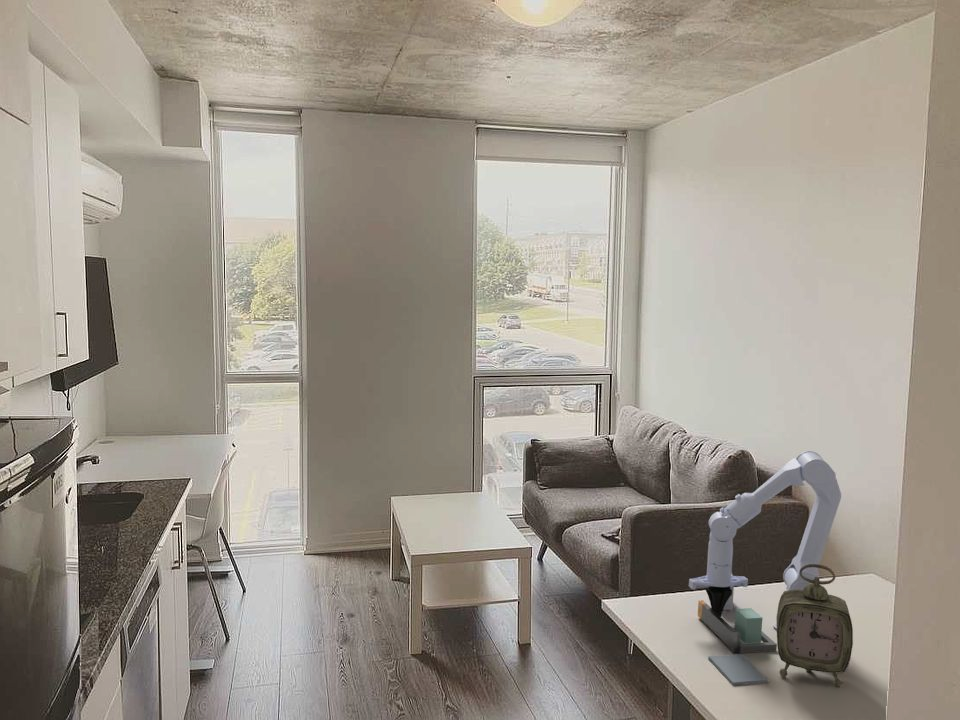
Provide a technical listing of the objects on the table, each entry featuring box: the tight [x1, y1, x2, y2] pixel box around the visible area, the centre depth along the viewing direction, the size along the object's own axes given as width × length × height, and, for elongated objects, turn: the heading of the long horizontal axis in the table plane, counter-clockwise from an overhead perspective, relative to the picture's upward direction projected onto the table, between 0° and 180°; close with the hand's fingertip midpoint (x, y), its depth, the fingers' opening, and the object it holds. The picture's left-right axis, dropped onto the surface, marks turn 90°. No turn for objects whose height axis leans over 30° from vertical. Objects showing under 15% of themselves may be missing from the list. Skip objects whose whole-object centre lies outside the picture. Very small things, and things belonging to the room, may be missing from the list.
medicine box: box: [723, 572, 735, 611], centre depth 197 cm, size 8×4×9 cm, turn 168°
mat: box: [707, 653, 769, 686], centre depth 164 cm, size 8×11×1 cm
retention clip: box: [697, 600, 740, 654], centre depth 180 cm, size 1×19×5 cm, turn 10°
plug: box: [734, 607, 764, 644], centre depth 177 cm, size 5×6×7 cm
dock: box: [730, 625, 778, 654], centre depth 177 cm, size 9×10×2 cm
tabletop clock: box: [775, 564, 854, 688], centre depth 161 cm, size 14×9×25 cm, turn 70°
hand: (716, 614), depth 185 cm, fingers closed
